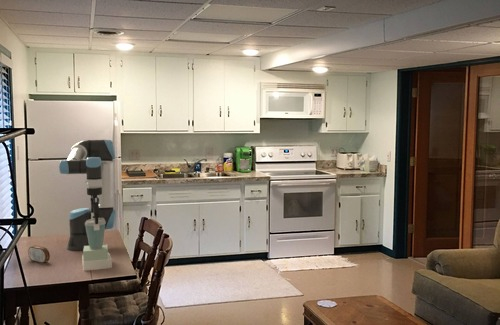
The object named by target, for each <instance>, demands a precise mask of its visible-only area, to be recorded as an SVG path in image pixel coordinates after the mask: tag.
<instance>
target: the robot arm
mask: <svg viewBox="0 0 500 325" xmlns="http://www.w3.org/2000/svg"><path fill="white" fill-rule="evenodd" d="M114 160H116V151H115V145H114V142H113V140H110V139H85V140H81V141H79V142H77V143H75V144H74V145H73V146H72V147H71V148H70V151H69V155H68V157H67V159H61V160H60V161H59V165H58V168H59V169H58V170H59V173H60V174H61V175H84V174H85V175H86V180H85V184H86V195H87V196H90V199H89V200H90V208H89V207H82V208H81V207H80V208H77V209H73V210H70V212H69V219H68V220H69V237H68V241H67V244H66V248H67V250H69V251H83V249H84V246H89V243H88V237H87V232H86V227H85V222H86V221H87V220H90V219H94V230H100V228H99V218H104V219H105V221H106V224H105V231H107V230H113V229H114V227H115V223H116V218H117V217H116V215H117V210H116V209H114V206H113V205H112V193H111V188H112V186H111V182H112V180H111V165H112V164H113V162H114Z"/></svg>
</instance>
